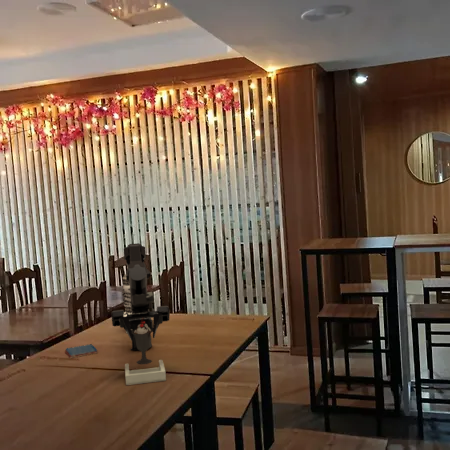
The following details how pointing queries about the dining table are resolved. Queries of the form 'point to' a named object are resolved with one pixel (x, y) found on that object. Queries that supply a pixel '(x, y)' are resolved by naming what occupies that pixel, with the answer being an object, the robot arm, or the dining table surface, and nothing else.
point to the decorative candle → (126, 295)
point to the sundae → (143, 340)
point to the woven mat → (81, 351)
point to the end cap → (145, 374)
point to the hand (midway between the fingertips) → (142, 338)
